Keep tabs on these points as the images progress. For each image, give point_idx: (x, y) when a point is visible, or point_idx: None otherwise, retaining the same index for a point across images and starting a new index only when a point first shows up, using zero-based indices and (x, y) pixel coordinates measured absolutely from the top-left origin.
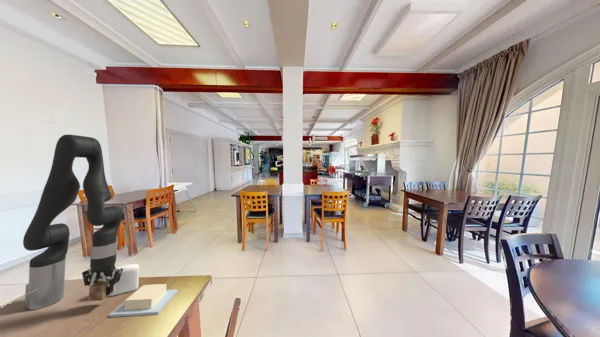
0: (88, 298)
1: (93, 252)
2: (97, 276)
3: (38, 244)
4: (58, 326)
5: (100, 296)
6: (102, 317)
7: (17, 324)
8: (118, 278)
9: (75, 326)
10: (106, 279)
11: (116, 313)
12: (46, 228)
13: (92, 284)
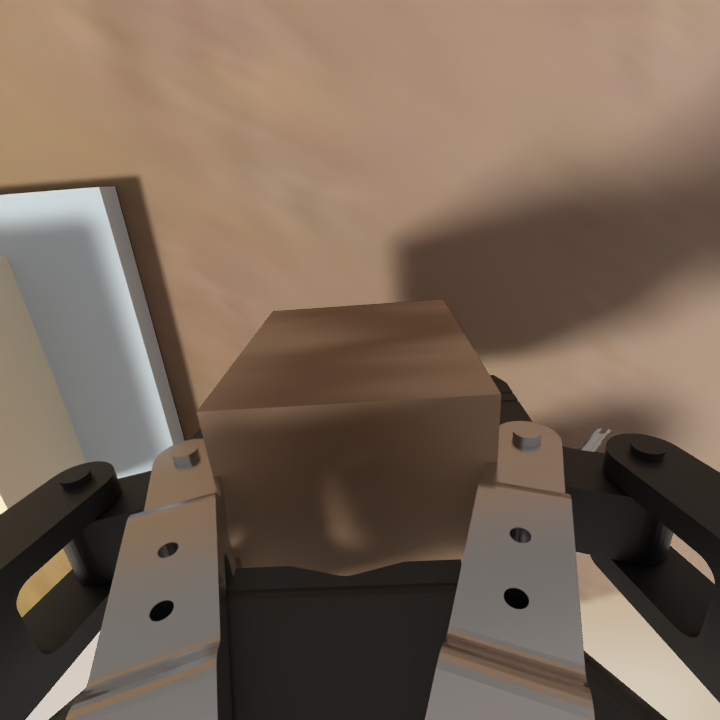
0: (597, 440)
1: None
2: (438, 649)
3: None
4: (528, 50)
5: (289, 326)
6: (185, 185)
7: None
8: (44, 609)
9: (337, 48)
10: (126, 551)
11: (36, 204)
12: None
13: (496, 452)
